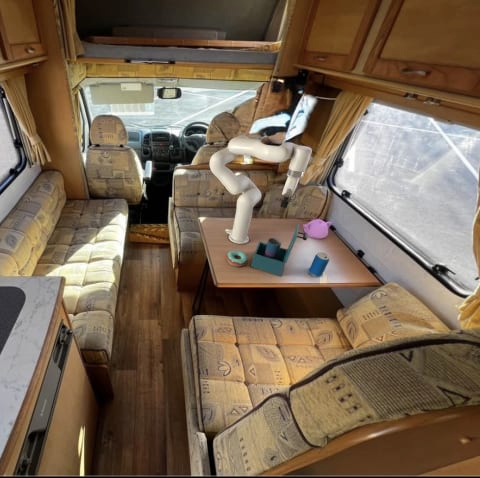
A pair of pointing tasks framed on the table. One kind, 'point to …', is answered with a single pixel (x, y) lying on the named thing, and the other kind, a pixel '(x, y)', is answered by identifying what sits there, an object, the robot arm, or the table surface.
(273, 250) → the cup
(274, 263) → the cool box
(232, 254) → the donut
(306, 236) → the cool box lid
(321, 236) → the teapot
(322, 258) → the beverage can
